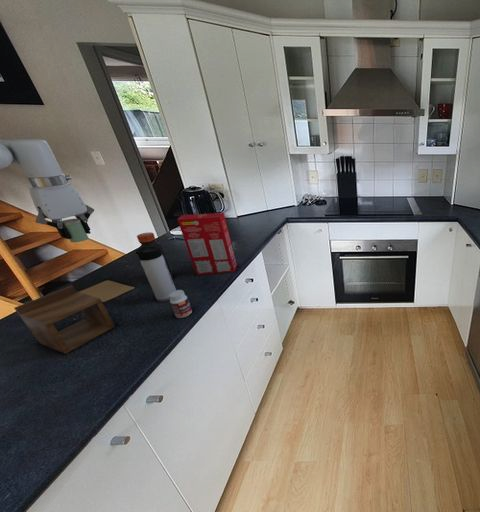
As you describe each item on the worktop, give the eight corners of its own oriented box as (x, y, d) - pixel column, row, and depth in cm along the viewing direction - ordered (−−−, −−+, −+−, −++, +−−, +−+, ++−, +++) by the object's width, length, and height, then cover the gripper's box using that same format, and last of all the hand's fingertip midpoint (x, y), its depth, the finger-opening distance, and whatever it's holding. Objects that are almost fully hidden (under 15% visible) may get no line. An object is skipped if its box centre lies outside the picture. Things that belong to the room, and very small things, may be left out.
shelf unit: (40, 343, 79) (13, 307, 73) (91, 318, 89) (71, 285, 83) (65, 354, 76) (40, 317, 70) (115, 326, 86) (97, 292, 80)
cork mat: (76, 294, 101) (75, 293, 101) (107, 280, 110) (107, 280, 110) (104, 302, 97) (103, 301, 97) (135, 288, 105) (134, 287, 105)
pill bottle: (184, 319, 90) (176, 298, 86) (172, 317, 90) (163, 296, 87) (195, 310, 94) (188, 289, 90) (183, 308, 95) (175, 288, 91)
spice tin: (67, 241, 93) (56, 222, 89) (84, 236, 96) (74, 217, 93) (75, 243, 91) (64, 223, 88) (92, 238, 95) (82, 219, 92)
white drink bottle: (154, 278, 112) (136, 233, 103) (174, 274, 115) (158, 230, 106) (151, 286, 107) (131, 239, 98) (172, 282, 110) (154, 236, 101)
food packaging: (237, 266, 122) (223, 212, 111) (234, 272, 118) (220, 216, 107) (200, 269, 119) (182, 214, 108) (196, 275, 115) (177, 219, 103)
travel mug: (151, 300, 98) (129, 251, 90) (168, 290, 104) (149, 243, 95) (165, 303, 97) (144, 253, 88) (181, 293, 103) (163, 245, 94)
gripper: (76, 176, 93) (100, 226, 101) (1, 186, 79) (36, 243, 87) (90, 178, 91) (113, 228, 99) (16, 188, 77) (50, 247, 85)
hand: (77, 235), depth 93 cm, fingers closed on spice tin, 4 cm apart
